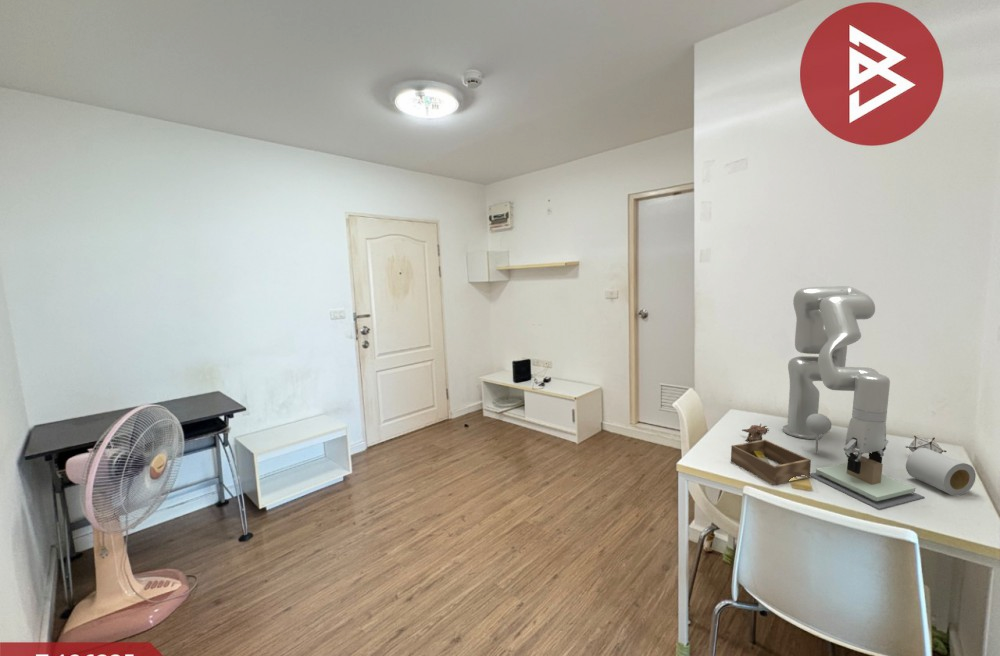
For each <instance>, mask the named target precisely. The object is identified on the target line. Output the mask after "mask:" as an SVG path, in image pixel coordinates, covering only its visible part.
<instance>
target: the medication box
mask: <svg viewBox="0 0 1000 656" xmlns="http://www.w3.org/2000/svg"><path fill="white" fill-rule="evenodd" d="M753 455H754V456H755V457H757V458H759V459H761V460H763V461H765V462H767V463H769V464H771V463H770V461H769V460H768V458H766V457H765V456H764V454H763V453H762V452H760V451H754V453H753Z"/></svg>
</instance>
